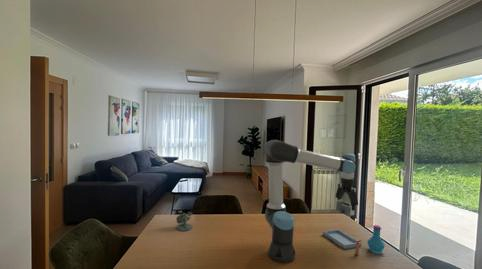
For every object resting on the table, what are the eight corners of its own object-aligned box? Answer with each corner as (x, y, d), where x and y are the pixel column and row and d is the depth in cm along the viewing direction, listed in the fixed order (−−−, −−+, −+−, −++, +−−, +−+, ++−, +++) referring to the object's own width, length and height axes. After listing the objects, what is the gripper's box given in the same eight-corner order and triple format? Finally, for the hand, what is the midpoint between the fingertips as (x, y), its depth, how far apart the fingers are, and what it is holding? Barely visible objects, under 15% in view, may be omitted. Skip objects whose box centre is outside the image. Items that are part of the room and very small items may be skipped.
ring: (355, 214, 152) (355, 206, 151) (345, 215, 149) (346, 207, 149) (343, 209, 161) (344, 201, 161) (334, 210, 159) (334, 202, 158)
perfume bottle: (384, 256, 141) (385, 231, 140) (366, 251, 146) (367, 226, 145) (384, 249, 149) (386, 225, 148) (367, 245, 154) (369, 222, 153)
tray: (344, 249, 147) (344, 245, 147) (322, 234, 166) (323, 231, 166) (360, 246, 152) (361, 242, 152) (337, 232, 171) (338, 229, 170)
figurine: (186, 232, 160) (187, 214, 160) (172, 229, 164) (173, 211, 164) (195, 226, 170) (195, 209, 169) (182, 223, 174) (182, 207, 173)
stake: (356, 255, 140) (357, 241, 140) (353, 254, 142) (354, 239, 142) (361, 254, 142) (362, 240, 141) (358, 253, 143) (359, 238, 143)
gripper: (366, 181, 145) (364, 218, 146) (339, 174, 166) (338, 205, 167) (356, 182, 143) (354, 219, 143) (330, 174, 164) (329, 206, 165)
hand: (345, 212), depth 155 cm, fingers closed on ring, 10 cm apart
